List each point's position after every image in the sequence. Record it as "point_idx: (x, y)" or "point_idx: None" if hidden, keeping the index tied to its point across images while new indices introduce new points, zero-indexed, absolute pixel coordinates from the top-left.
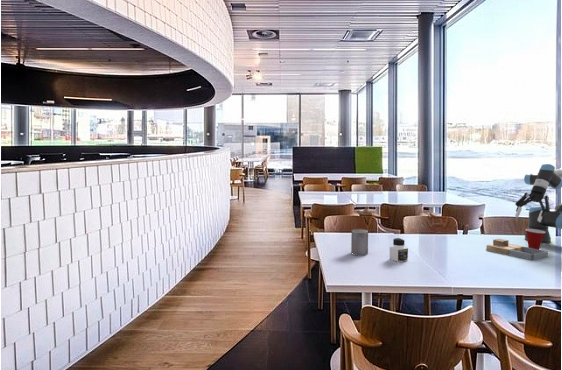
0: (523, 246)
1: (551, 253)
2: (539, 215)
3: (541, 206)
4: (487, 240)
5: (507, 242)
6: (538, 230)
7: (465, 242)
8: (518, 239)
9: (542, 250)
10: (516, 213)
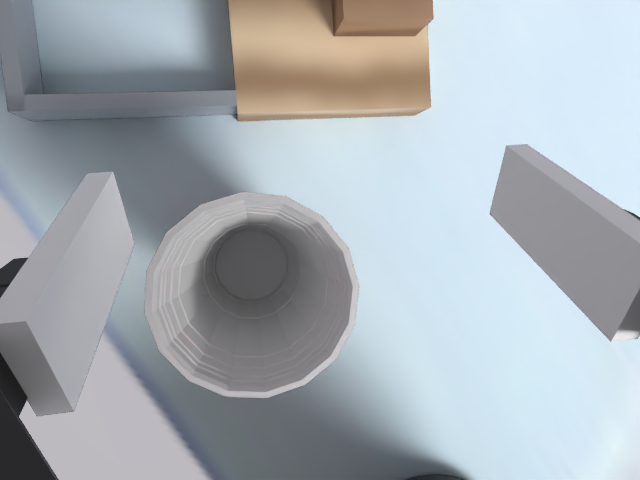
0: (242, 108)
1: None
2: (71, 225)
3: (13, 452)
4: None
5: (338, 10)
6: (274, 382)
7: (628, 8)
8: (507, 454)
9: (57, 105)
10: (548, 166)
